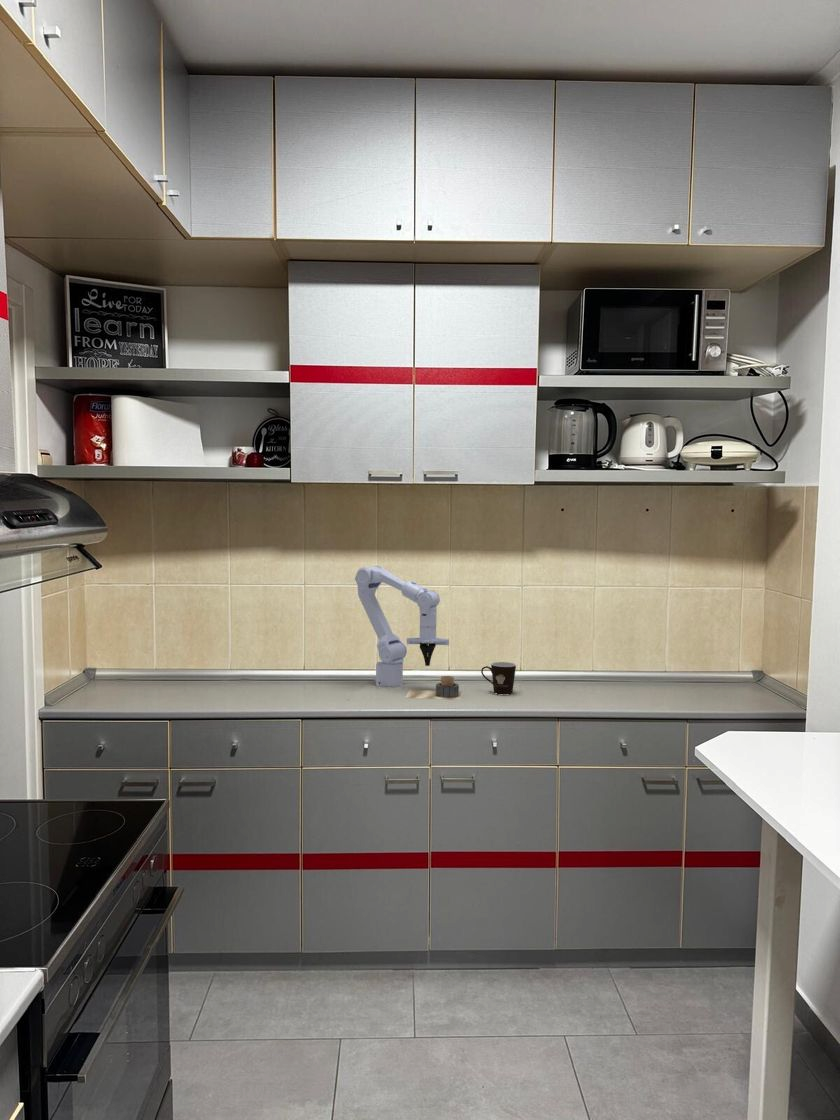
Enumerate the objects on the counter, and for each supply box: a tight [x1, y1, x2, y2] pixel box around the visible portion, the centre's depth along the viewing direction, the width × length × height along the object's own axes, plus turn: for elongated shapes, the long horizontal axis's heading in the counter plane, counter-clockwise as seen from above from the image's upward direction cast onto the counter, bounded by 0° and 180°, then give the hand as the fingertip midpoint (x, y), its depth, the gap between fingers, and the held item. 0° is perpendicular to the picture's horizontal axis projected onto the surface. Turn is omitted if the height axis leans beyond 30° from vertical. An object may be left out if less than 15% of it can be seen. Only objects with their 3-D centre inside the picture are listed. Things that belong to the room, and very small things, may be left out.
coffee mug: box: [480, 661, 517, 695], centre depth 282 cm, size 12×9×10 cm
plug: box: [440, 675, 455, 687], centre depth 272 cm, size 4×4×6 cm
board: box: [404, 689, 462, 701], centre depth 273 cm, size 18×12×1 cm, turn 84°
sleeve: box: [435, 682, 460, 698], centre depth 272 cm, size 8×8×4 cm
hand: (427, 665), depth 280 cm, fingers closed
